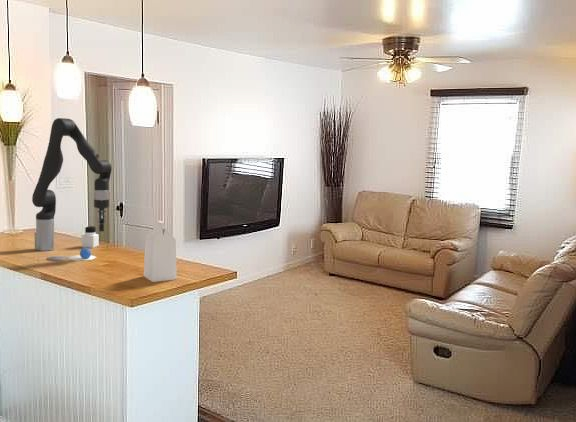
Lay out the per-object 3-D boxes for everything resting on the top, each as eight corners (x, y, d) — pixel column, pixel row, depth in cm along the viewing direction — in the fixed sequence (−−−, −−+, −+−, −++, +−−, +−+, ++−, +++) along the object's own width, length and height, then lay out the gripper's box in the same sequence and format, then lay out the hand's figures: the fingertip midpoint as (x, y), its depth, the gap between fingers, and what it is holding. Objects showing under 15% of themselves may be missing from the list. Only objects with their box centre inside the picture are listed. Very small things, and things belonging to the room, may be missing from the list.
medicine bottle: (98, 246, 325) (98, 225, 324) (93, 248, 318) (93, 227, 317) (87, 245, 326) (87, 225, 325) (81, 247, 319) (81, 226, 318)
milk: (177, 279, 252) (177, 222, 250) (152, 281, 246) (152, 223, 243) (167, 273, 262) (168, 219, 259) (143, 276, 256) (144, 220, 253)
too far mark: (42, 259, 282) (42, 259, 282) (53, 256, 292) (53, 255, 292) (60, 261, 281) (60, 260, 281) (71, 257, 291) (71, 257, 291)
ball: (87, 244, 288) (95, 251, 291) (79, 247, 290) (87, 253, 294) (83, 252, 284) (91, 259, 287) (76, 255, 287) (83, 262, 290)
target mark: (61, 259, 285) (61, 259, 285) (76, 254, 299) (76, 254, 299) (87, 261, 283) (87, 261, 283) (100, 256, 296) (100, 255, 296)
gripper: (93, 197, 296) (93, 229, 298) (94, 199, 283) (94, 233, 285) (108, 197, 298) (108, 229, 300) (109, 199, 286) (109, 233, 288)
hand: (101, 231), depth 293 cm, fingers closed
